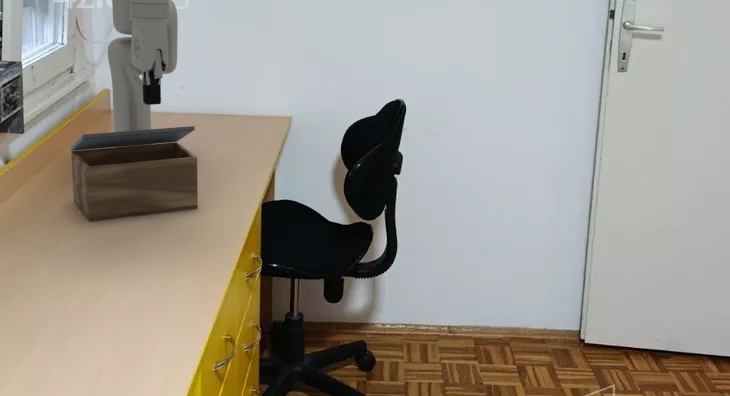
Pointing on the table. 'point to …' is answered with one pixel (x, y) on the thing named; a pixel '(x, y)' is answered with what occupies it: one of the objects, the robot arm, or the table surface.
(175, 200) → the wooden box
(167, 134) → the lid flap
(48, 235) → the table surface
